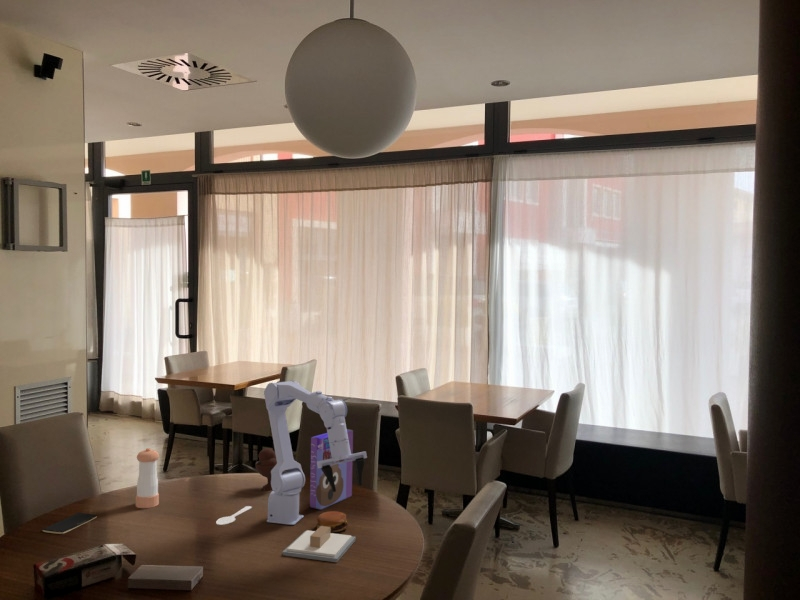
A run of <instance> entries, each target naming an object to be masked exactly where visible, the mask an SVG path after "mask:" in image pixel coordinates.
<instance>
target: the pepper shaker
mask: <svg viewBox="0 0 800 600" xmlns="http://www.w3.org/2000/svg"><path fill="white" fill-rule="evenodd" d="M159 458H160V454H159V452H158V451H157V450H154V449H151V448H149V447H146V448H145V449H144V450H141V451H140V452H138V453H137V456H136V460H137V462H138V463H139V464H138V477H137V484H136V495H135V508H137V509H151V508H154V507H156V506H158V505H159V504H160V494H159V480H158V474H157V473H158V472H157V467H158V466H157V465H158V462H157V460H158V459H159Z"/></svg>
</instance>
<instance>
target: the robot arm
mask: <svg viewBox="0 0 800 600" xmlns="http://www.w3.org/2000/svg"><path fill="white" fill-rule="evenodd" d="M263 396H264V400H265V407H266V410H267V413H268V419H269V423H270V428H271V430H270V431H271V434H272V440H273V447H274V451H275V454H276V460H277V464H276V465H275V467H274V468H273V469H272V470H271V487H272V489H273V490H271V492H270V493H269V496H268V500H267V519H266V523H273V524H281V525H289V526H294V525H296V524H297V523H298V522H299V521H301V520H302V518H304V516H305V515H303V514H300V513H299V512H300V493H301V492H302V488H304V486H305V484H306V475H305V473H304V472H303V469H302V465H301V463H299V462H297V461H296V460H295V459H294V455H293V449H292V443H291V438H290V431H289V427H288V426H289V425H288V421H287V416H286V411H287V410H288V408H289V407H291V405H292V404H293V403H295V401H296V400H298V401H300V402H303V403H305V404H306V407H307V409H309V410H311V411H312V412H314V413H316V414H317V415H318V414H319V417H320V418H321V420H322V421H323V425H324V427H325V428H326V433H328V439H329V445H330V451H331V456H332V458H331V459H327V460H322V461H318V462H317V467H318V468H321V470H322V471H323V473H324V474H325V476H326V477H327V479H328V481H329V483H330V485H331V488H332V492H336V488H335V484H334V479H333V472H332V468H331V467H330V466H331V465H336V464H341V463H345V462H350V461H352V462H353V466H354V469H355V474H356V482H357V486H358V487H360V486H362V485H363V483H362V481H363V480H362V478H363V472H364V471H363V470H364V466H365V462H366V460H365V459H367V458H368V456H367V455H368V454H367V451H361V452H356V453H353V454H351V451H350V445H349V440H346V439H348V434H347V429H348V428H347V424H346V417H347V414H348V407H347V404H346V402H345V401H344V400H342V398H338V399H334V398H333V397H332V396H327V395H325V394H323V392H322V391H321V390H316V391H313V392H311V391H310V390H308V389H306V388H304V387H303V386H302V385H300V382H298V381H295V380H288V381H279V382H269V383H267V385H266V387H265V389H264V392H263ZM332 442H333V443H332ZM347 458H348V459H351V460H346V461H341V462H337V463H334V462H336V461H338V460H343V459H347Z"/></svg>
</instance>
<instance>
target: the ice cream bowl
mask: <svg viewBox="0 0 800 600" xmlns="http://www.w3.org/2000/svg"><path fill="white" fill-rule="evenodd" d="M257 457H258V459H259V460H258V461H256V462H255V464H254V465H255V466H254V467H255V469H256V472H257V473H258V474H259V475H261V476H262V477H264V478H266V480H267V483H266V484H264V485H262V489H261V490H263V491H268V492H269V491H273V489H272V487H271V470H272V469H273V468H274V467H275V465H276V464H277V460H276V454H275V450H273V448H271V447H269V448H268V447H267V448H263V449H262V450H261V451H259V453H258V456H257Z"/></svg>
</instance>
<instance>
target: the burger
mask: <svg viewBox="0 0 800 600" xmlns="http://www.w3.org/2000/svg"><path fill="white" fill-rule="evenodd" d="M346 514H347V513H345V512H341V511H337V510H334V511H333V510H332V511H330V510H329V511H325V512H322V513H321V514H319V515H318V516H317V518H316V530H317V529H318V528H319V527H320V526H326V527H331V528H330V533H339V532H342V531H344V530H346V528H347V527H348V526H349V524H348V521H347V515H346Z"/></svg>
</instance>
